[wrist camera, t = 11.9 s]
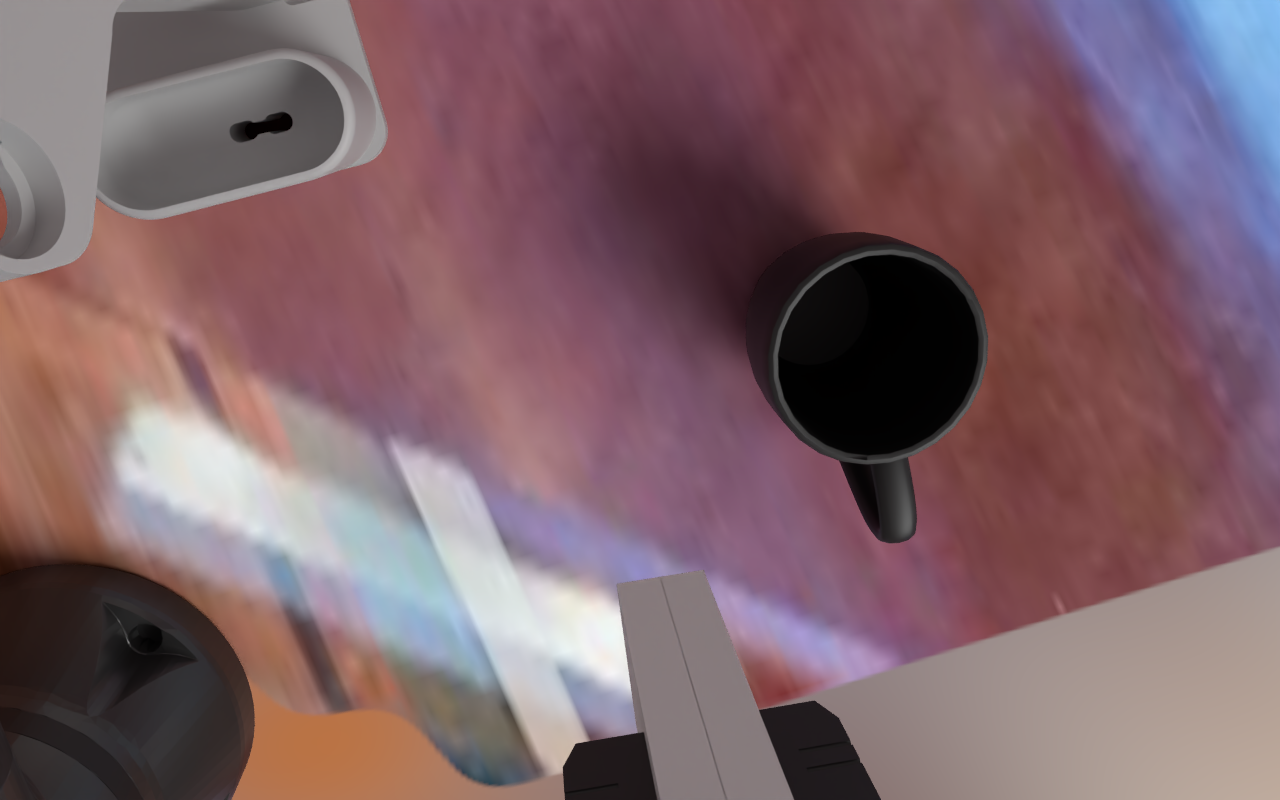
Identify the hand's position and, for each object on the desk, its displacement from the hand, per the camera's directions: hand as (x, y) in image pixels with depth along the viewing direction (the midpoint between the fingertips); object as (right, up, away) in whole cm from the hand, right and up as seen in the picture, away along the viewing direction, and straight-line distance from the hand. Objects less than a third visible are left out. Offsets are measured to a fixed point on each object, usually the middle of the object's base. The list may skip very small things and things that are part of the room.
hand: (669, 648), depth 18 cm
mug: (+7, +7, +30) cm, 31 cm away
